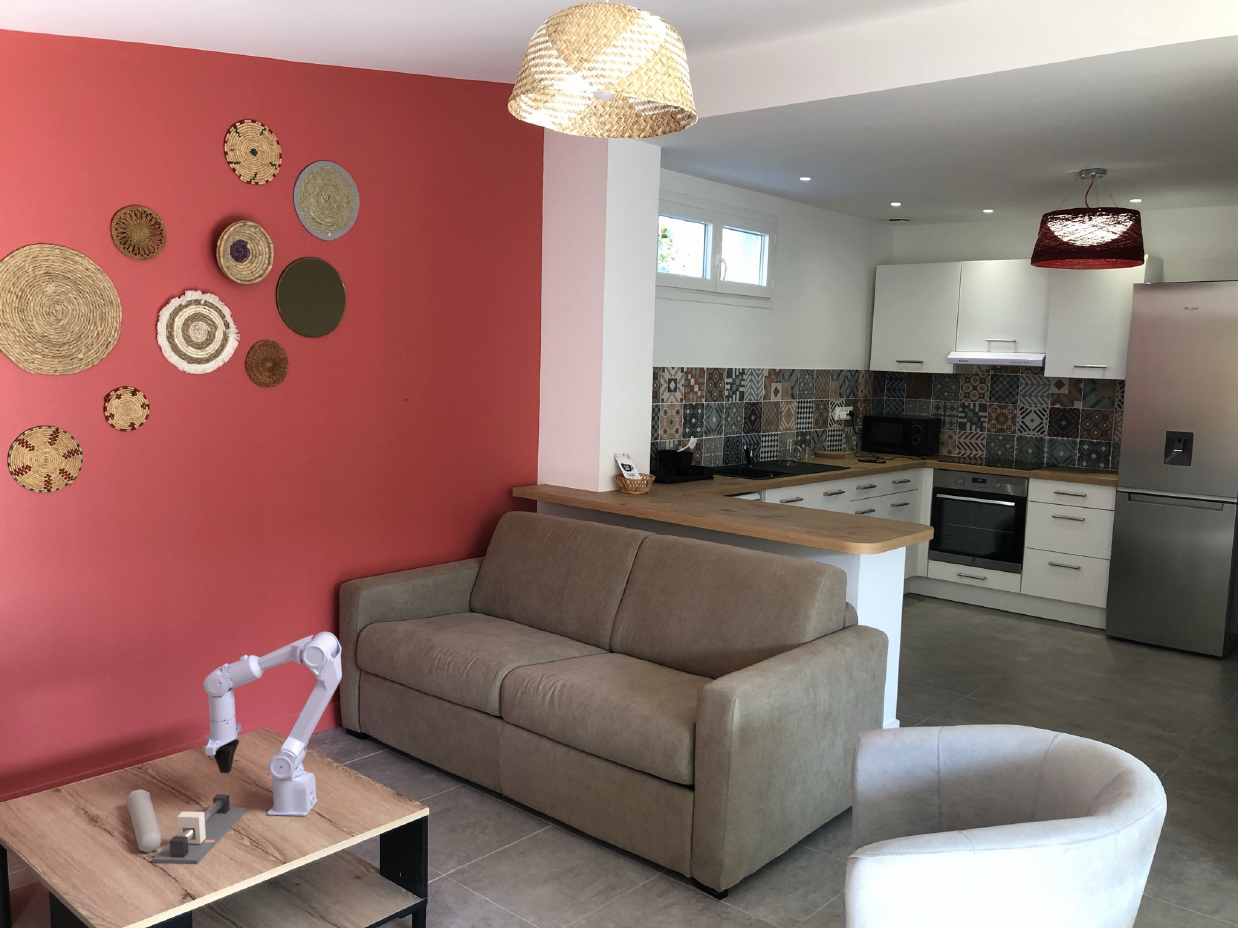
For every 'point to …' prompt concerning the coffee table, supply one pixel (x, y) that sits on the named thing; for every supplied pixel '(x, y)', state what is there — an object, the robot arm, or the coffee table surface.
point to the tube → (144, 821)
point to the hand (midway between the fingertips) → (225, 771)
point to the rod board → (216, 827)
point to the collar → (192, 825)
